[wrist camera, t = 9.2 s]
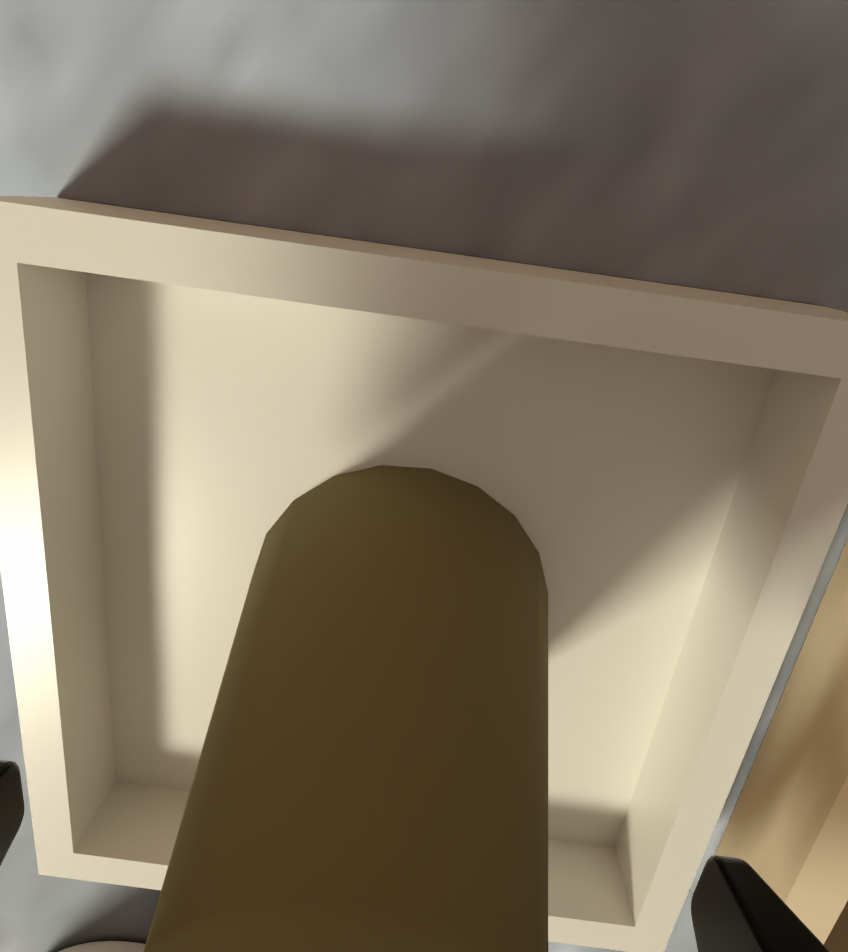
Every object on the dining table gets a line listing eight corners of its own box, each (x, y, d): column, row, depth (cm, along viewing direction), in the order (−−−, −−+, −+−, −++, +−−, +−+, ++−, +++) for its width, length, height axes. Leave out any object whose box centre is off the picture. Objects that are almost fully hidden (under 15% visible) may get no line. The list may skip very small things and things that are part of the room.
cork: (481, 416, 12) (625, 1554, 2) (588, 670, 14) (946, 1904, 4) (197, 531, 13) (-686, 1630, 3) (333, 751, 15) (82, 1872, 5)
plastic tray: (633, 853, 17) (662, 956, 14) (96, 781, 17) (39, 874, 14) (826, 306, 12) (918, 330, 9) (54, 196, 12) (-47, 194, 9)
